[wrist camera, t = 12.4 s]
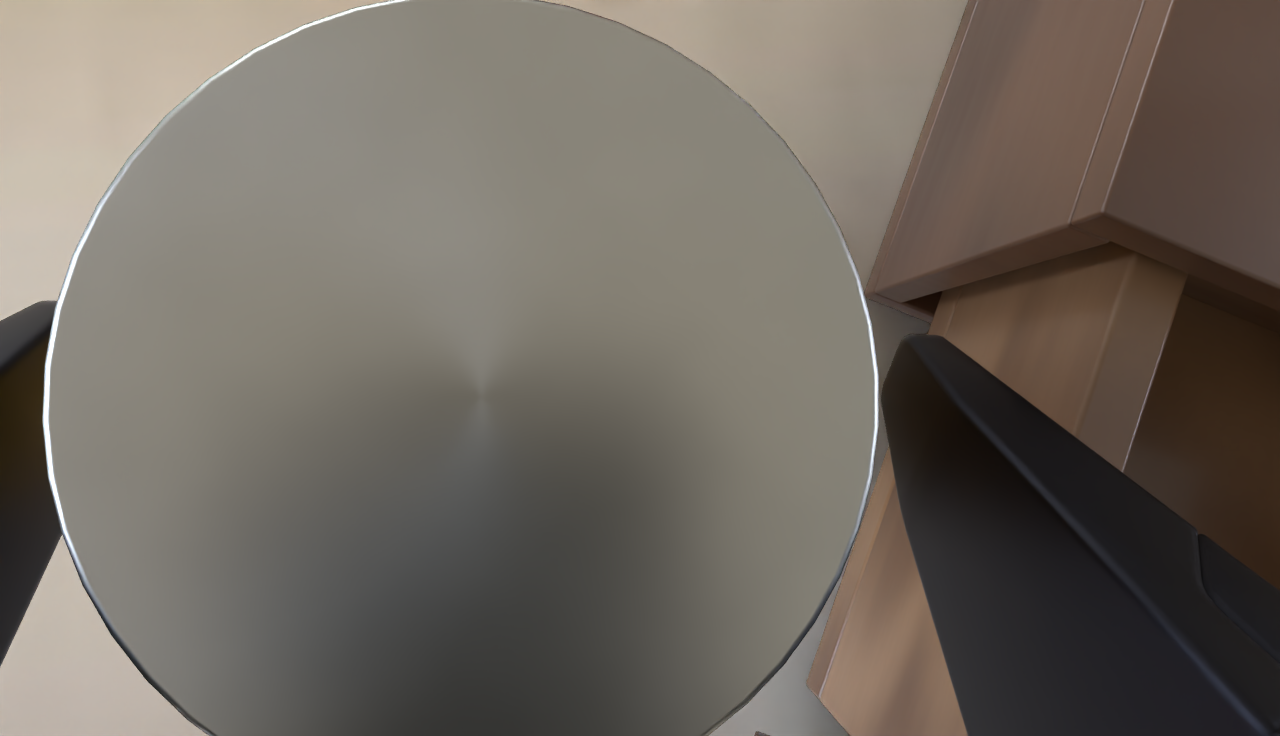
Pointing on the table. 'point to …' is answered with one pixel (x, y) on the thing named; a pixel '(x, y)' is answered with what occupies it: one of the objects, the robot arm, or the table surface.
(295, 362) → the tin
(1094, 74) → the cabinet
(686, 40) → the table surface
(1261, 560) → the drawer
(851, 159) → the table surface
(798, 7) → the table surface
